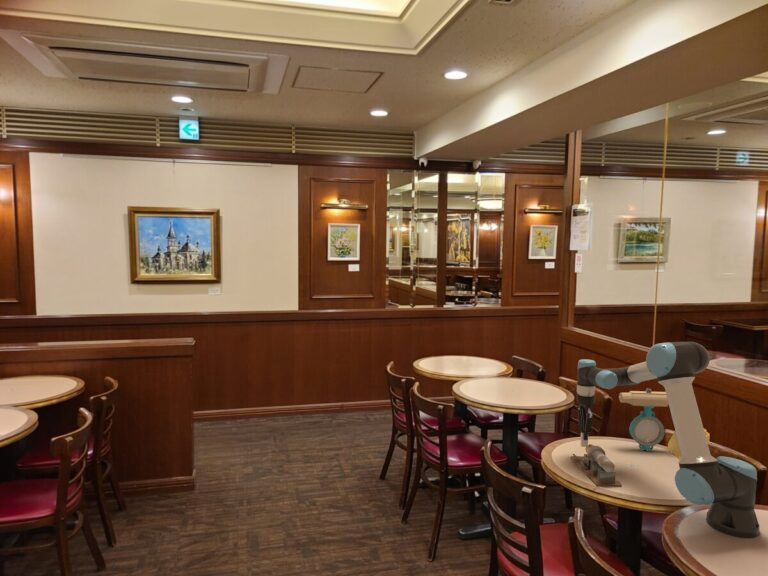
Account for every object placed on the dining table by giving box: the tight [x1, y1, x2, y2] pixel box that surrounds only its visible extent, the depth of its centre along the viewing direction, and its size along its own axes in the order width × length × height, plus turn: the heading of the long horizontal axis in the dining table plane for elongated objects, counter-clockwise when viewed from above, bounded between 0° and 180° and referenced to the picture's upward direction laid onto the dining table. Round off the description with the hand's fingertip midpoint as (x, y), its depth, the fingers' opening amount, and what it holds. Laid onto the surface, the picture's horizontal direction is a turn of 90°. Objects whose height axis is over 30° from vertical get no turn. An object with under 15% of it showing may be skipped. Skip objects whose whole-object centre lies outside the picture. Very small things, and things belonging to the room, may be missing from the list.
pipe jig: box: [570, 445, 623, 488], centre depth 221 cm, size 29×10×12 cm, turn 1°
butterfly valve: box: [618, 387, 669, 452], centre depth 245 cm, size 27×7×30 cm, turn 84°
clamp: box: [667, 428, 710, 460], centre depth 236 cm, size 20×9×16 cm, turn 177°
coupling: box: [583, 443, 600, 469], centre depth 223 cm, size 6×7×10 cm
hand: (584, 446), depth 233 cm, fingers closed
